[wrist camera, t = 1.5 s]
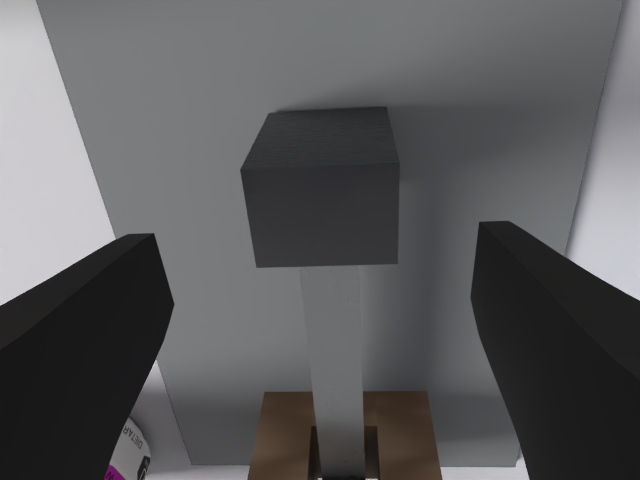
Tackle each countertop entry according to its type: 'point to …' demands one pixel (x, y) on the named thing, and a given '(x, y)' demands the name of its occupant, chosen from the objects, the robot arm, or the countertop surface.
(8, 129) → the countertop surface
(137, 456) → the supplement can
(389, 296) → the mat
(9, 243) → the countertop surface
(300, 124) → the hook rod
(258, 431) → the block
